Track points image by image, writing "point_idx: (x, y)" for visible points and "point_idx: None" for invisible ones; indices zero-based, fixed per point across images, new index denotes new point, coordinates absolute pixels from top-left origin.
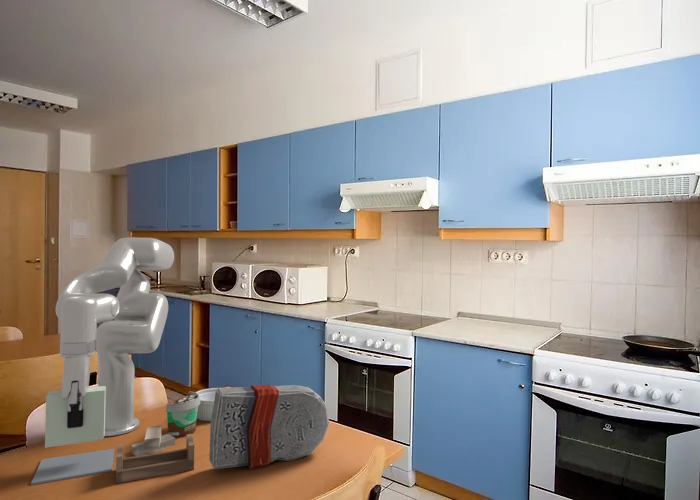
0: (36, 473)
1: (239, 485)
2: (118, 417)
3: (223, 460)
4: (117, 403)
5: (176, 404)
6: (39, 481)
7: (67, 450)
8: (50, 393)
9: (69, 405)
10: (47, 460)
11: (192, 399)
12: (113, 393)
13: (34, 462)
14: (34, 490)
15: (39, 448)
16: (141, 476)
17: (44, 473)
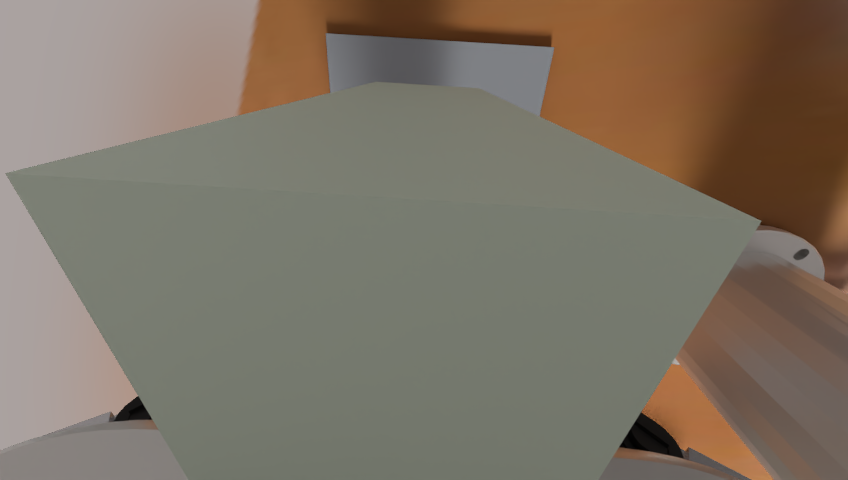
0: (408, 43)
1: None
2: (685, 347)
3: None
4: (739, 402)
5: None
6: (329, 66)
7: (607, 145)
8: (351, 285)
9: (139, 400)
10: (526, 75)
11: None
12: (809, 451)
13: (560, 13)
14: (279, 55)
15: (732, 13)
16: None
17: (393, 78)
